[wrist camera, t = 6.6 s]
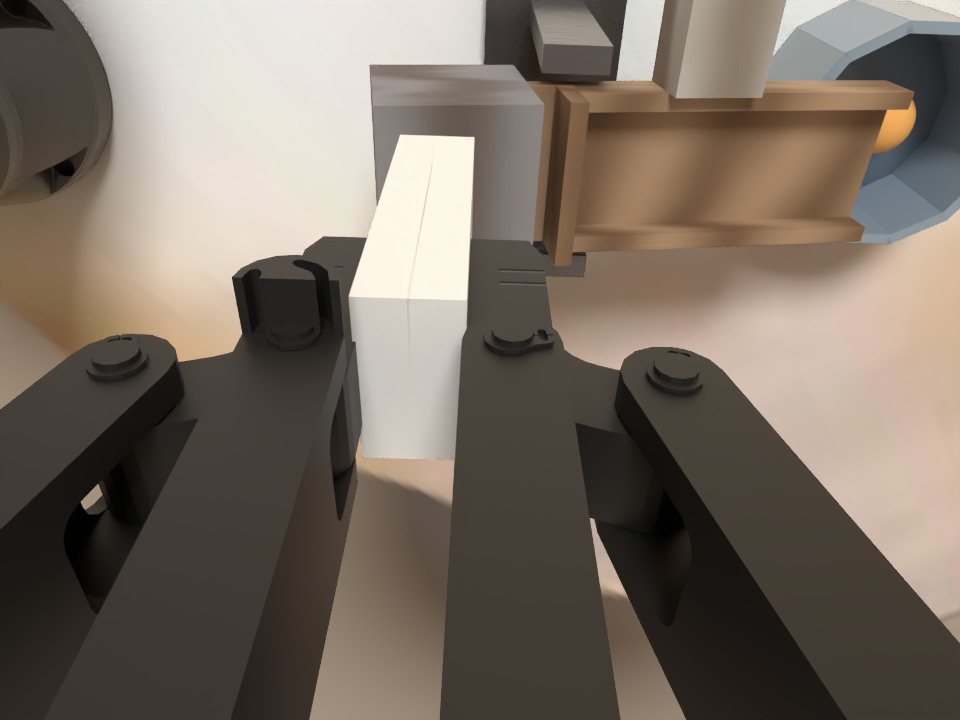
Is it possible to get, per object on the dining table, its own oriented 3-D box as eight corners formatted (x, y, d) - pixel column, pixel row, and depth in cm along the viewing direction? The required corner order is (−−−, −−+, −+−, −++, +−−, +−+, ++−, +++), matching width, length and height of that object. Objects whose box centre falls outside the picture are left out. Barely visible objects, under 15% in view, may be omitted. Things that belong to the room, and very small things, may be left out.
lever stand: (480, 192, 49) (477, 289, 38) (487, -23, 41) (486, 18, 30) (597, 196, 49) (629, 293, 38) (625, -18, 41) (675, 25, 30)
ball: (869, 166, 42) (916, 158, 44) (893, 96, 40) (942, 90, 41) (817, 145, 45) (863, 138, 47) (837, 78, 43) (885, 74, 44)
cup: (728, 195, 49) (760, 239, 43) (776, -5, 42) (822, 16, 36) (907, 201, 49) (962, 246, 43) (984, 3, 42) (1063, 25, 36)
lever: (377, 213, 39) (381, 275, 33) (361, -94, 31) (363, -83, 25) (807, 201, 42) (878, 255, 36) (893, -78, 34) (1001, -65, 28)
